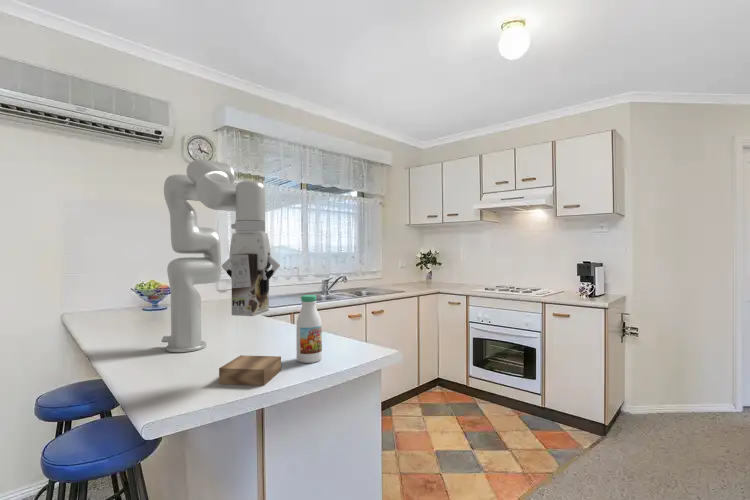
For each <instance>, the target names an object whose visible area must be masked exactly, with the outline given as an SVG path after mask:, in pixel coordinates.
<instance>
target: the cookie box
mask: <svg viewBox="0 0 750 500" xmlns="http://www.w3.org/2000/svg"><path fill="white" fill-rule="evenodd" d="M267 270H268V271H269V270H270V268H268V269H267ZM261 280H262V276H261V274H260V270H257V254H232V279H231V316H235V317H237V316H241V317H254V316H257V315H260V314H264V313H266V312H269V311H270V295H269V293H270V292H269V291H268V293H267V294H266V295H261V286H260V281H261Z"/></svg>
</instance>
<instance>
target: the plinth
mask: <svg viewBox="0 0 750 500" xmlns="http://www.w3.org/2000/svg"><path fill="white" fill-rule="evenodd" d="M281 371H282V356H279V355H278V356H274V355H273V356H272V355H241V354H240V355H239V356H237V357H236V358H234V359H232V360H230V361H228V362H227V363H225V364H224V365H222V366H220V367H219V368H218V376H219V377H218V382H219V383H218V384H219V385H239V386H240V385H242V386H244V385H245V386H265V385H267V384H268V383H270V381H271V380H272V379H274V378H275V376H277V375H278V374H279V373H280V372H281Z"/></svg>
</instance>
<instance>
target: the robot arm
mask: <svg viewBox="0 0 750 500" xmlns="http://www.w3.org/2000/svg"><path fill="white" fill-rule="evenodd" d="M235 178H236V176H235V171H234V168H233V167H232V166H231V165H230V164H228V163H227V162H220V161H214V160H209V159H195V160H192V161H190V162H189V163H188V164H187V166H186V174H171V175H169V176H168V177H166V179H165V181H164V185H163V196H164V200H165V204H166V206H167V209H168V213H169V219H170V220H169V221H170V222H169V223H170V225H169V226H170V241H171V248H172V250H173V252H175V253H176V254H187V255H188V254H189V255H190V254H194V255H195V254H196V255H198V254H199V255H200V254H201V255H202V254H203V256H204V257H198V256H197V257H195V256H194V257H179V258H174V259H173V260H171V261H170V262H169V263H168V265H167V267H166V268H167V271H166V272H167V273H166V274H167V277H168V282H169V289H170V291H169V292H170V335H163V336H162V338H161V343H167V345H166V347H165V350H166V352H169V353H187V352H194V351H199V350H203V349H204V348H206V346H207V342H206V341H203V340H202V296H201V294H200V292H199V291H198V290H197V289H196V287H195V286H194V285H204V284H205V285H206V284H214V283H217V282H218V281H219V280H220V279H221V276H222V268H223V270H224V271H225V273H226V274H227V275H228V276H229V277H230V280H232V254H257V270H260V274H261V276H262V280H261V281H260V286H261V295H266V294H267V293H268V291H269V290H270V279H271V277H272V276H274V275H275V273H277V271H278V270H279V269H280V267H281V265H280V264H279V263H278V262H277V261H276V259H274V258H273V257H272V254H271V245H270V240H269V239H270V238H269V236H268V233H267V232H266V191H265V185H264V184H263V183H261V182H259V181H252V180H251V181H250V180H243V181H239V182H237V183H236V184H235ZM188 201H193V202H200V203H201V204H203V205H204V206H205V207H207V208H208V209H211V210H214V211H229V212H235V221H234V223H232V224H231V225H230V228H231V229H232V230H234V231H235V232H233V233H232V236H231V241H230V246H229V254H228V257H229V258H228V259H227V260H226V261H225V262H224V263H222V255H221V253H222V252H221V239H220V235H219V233H218V232H217V230H216V229H214V228H211V227H204V226H203V227H201V226H200V227H199V226H198V215H197V212H196V210H195V208H194V207H193V206H192V205H191V204H190V203H189V202H188ZM268 268H269V271H268V270H267V269H268Z"/></svg>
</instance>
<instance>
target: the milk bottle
mask: <svg viewBox="0 0 750 500" xmlns="http://www.w3.org/2000/svg"><path fill="white" fill-rule="evenodd" d="M300 299H301V309H300V312H299V314H298V315H297V320H296V335H295V336H296V338H295V339H296V361H297V362H298V363H303V364H304V363H305V364H312V363H318V362H319V361H321V360H322V359H323V348H322V347H323V341H322V340H323V339H322V337H323V335H322V333H323V331H322V319H321V315H320V314H319V312H318V309H317V305H316V303H317V295H315V294H303V295H302V296H301V298H300Z"/></svg>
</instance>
